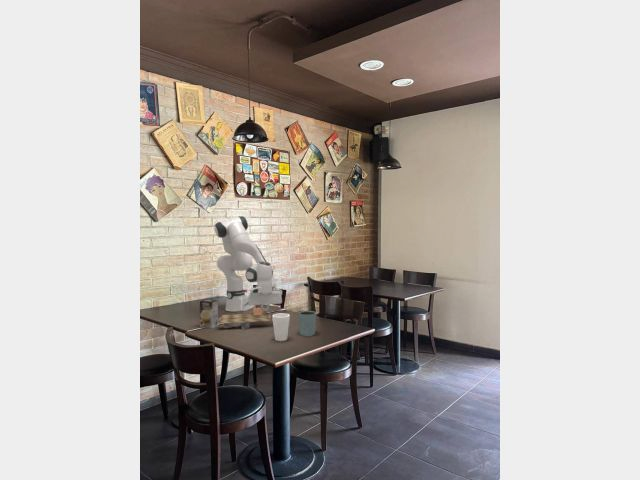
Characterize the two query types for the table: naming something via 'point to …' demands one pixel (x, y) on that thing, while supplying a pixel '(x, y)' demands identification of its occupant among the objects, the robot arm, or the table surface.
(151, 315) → the table surface
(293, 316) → the table surface
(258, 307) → the rider
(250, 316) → the beam
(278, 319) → the foam cup
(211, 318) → the coffee box
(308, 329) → the teal cup
